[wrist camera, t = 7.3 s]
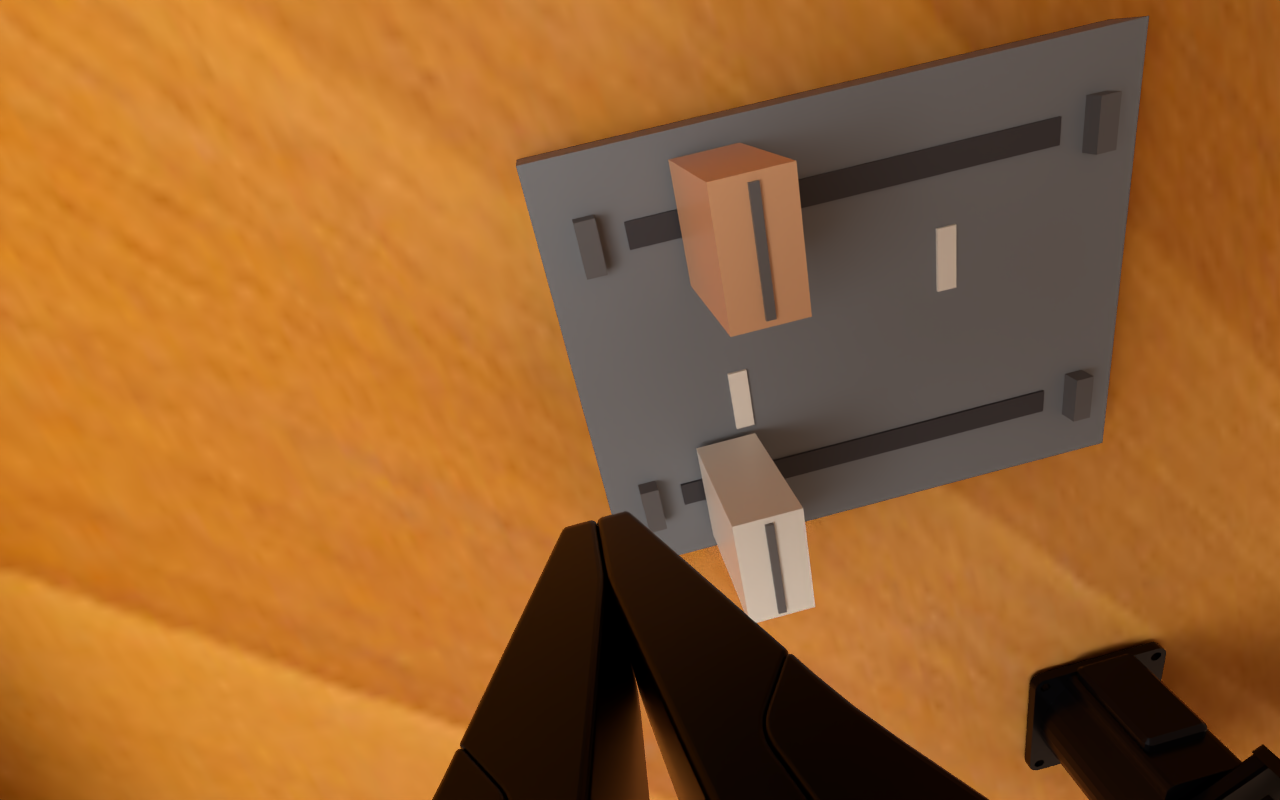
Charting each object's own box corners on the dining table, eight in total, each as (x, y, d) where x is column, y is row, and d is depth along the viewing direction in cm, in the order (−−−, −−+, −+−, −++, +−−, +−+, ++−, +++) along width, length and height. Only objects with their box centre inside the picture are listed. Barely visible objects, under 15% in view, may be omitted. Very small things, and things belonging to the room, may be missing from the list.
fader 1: (756, 269, 20) (813, 317, 16) (690, 286, 20) (732, 338, 16) (739, 142, 19) (798, 161, 15) (668, 159, 19) (707, 182, 15)
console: (1073, 424, 27) (1114, 450, 25) (621, 543, 26) (629, 580, 24) (1108, 19, 21) (1167, 14, 19) (516, 159, 20) (515, 169, 18)
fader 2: (768, 520, 24) (816, 608, 20) (713, 535, 24) (750, 627, 20) (755, 432, 23) (804, 510, 19) (696, 448, 23) (732, 529, 19)
